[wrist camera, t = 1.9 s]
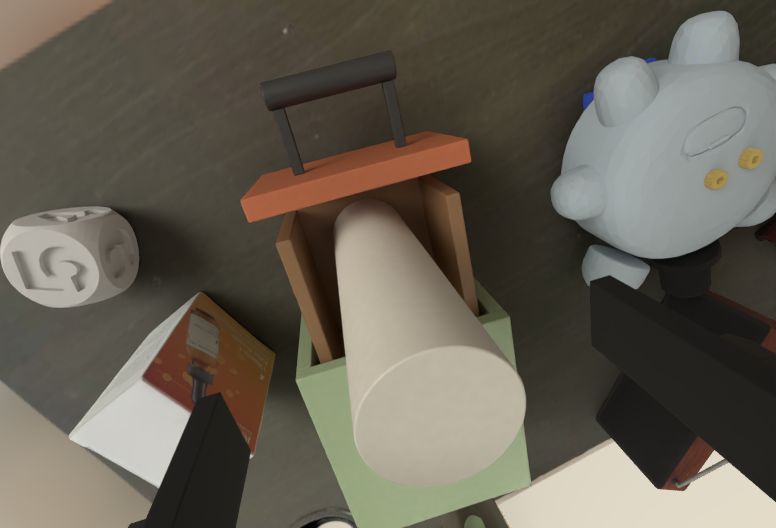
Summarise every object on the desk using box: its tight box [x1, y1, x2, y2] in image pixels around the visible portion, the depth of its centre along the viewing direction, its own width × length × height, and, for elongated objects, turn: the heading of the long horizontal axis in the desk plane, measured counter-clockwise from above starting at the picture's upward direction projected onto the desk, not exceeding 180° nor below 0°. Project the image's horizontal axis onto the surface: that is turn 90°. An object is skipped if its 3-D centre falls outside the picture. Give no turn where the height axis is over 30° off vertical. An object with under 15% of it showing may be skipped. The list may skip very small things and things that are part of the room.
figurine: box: [551, 11, 776, 298], centre depth 28 cm, size 17×8×20 cm
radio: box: [596, 290, 776, 491], centre depth 32 cm, size 19×3×15 cm, turn 163°
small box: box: [69, 292, 275, 488], centre depth 26 cm, size 8×6×10 cm
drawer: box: [240, 51, 480, 364], centre depth 24 cm, size 18×12×8 cm, turn 14°
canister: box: [333, 199, 526, 487], centre depth 19 cm, size 5×5×18 cm
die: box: [0, 206, 139, 308], centre depth 24 cm, size 5×5×5 cm
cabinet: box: [296, 277, 531, 528], centre depth 29 cm, size 15×13×10 cm
